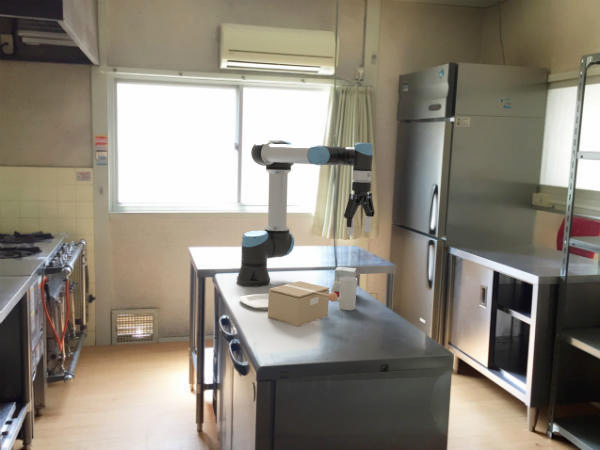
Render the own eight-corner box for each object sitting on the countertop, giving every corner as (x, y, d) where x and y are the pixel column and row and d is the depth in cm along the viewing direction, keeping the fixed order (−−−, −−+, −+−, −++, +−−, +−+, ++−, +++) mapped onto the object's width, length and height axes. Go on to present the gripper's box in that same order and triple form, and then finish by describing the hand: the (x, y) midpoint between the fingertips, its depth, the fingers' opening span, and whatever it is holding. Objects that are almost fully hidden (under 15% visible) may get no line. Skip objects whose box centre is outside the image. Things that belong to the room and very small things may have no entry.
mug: (352, 305, 227) (354, 276, 226) (357, 310, 221) (359, 280, 219) (328, 306, 225) (330, 276, 224) (332, 310, 219) (334, 280, 217)
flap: (268, 293, 205) (268, 285, 205) (299, 285, 219) (300, 277, 219) (321, 307, 191) (321, 298, 190) (350, 297, 205) (351, 289, 204)
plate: (252, 313, 212) (252, 308, 211) (233, 300, 228) (233, 295, 228) (297, 309, 220) (298, 304, 220) (276, 296, 237) (276, 292, 237)
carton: (267, 317, 206) (268, 291, 205) (298, 308, 220) (299, 283, 219) (297, 326, 198) (299, 298, 196) (327, 316, 212) (329, 290, 210)
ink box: (352, 298, 238) (354, 271, 236) (332, 297, 240) (334, 269, 238) (355, 293, 246) (356, 267, 245) (335, 292, 248) (337, 265, 246)
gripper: (353, 182, 216) (350, 237, 219) (384, 181, 236) (381, 231, 239) (336, 181, 220) (333, 235, 223) (369, 180, 240) (366, 229, 243)
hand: (358, 233), depth 231 cm, fingers open, 13 cm apart
